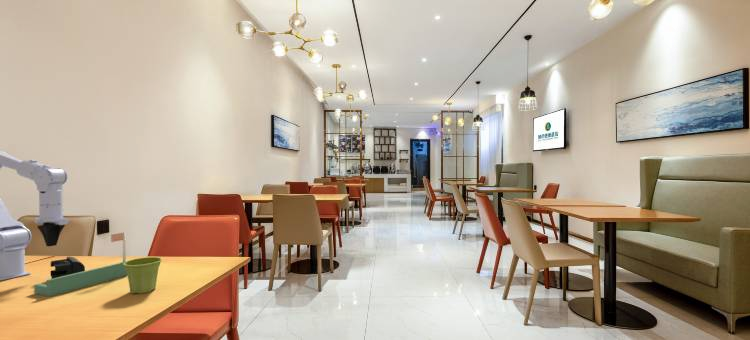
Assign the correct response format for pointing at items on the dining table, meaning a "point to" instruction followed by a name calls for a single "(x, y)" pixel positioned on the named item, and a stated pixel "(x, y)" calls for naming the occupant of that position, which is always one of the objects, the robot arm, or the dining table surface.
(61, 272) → the black plastic holder
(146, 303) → the dining table surface
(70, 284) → the putting pocket
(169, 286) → the dining table surface
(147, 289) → the plant pot
